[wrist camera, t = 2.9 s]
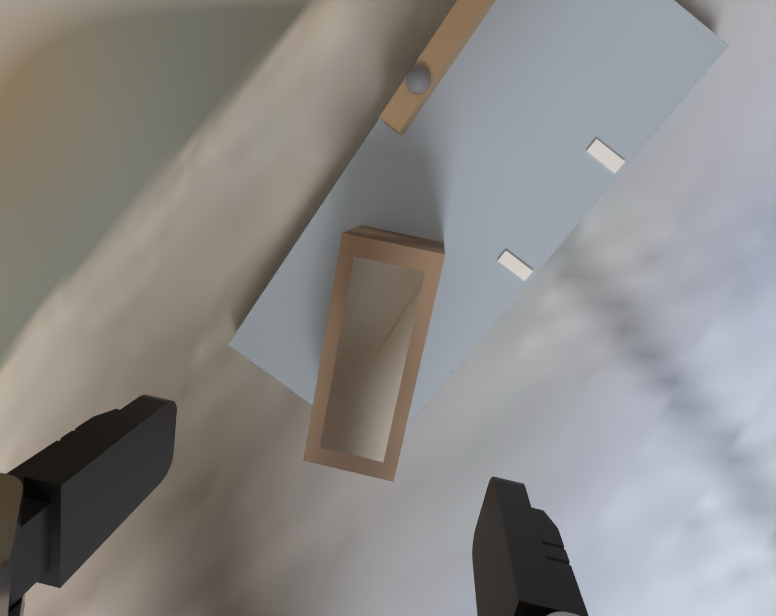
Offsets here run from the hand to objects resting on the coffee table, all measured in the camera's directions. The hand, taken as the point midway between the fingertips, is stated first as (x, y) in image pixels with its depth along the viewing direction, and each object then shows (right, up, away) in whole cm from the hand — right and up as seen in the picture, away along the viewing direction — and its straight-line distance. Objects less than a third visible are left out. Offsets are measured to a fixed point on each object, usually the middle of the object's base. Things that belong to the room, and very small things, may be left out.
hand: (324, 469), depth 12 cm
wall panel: (+4, +9, +11) cm, 15 cm away
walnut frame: (+1, +3, +12) cm, 12 cm away
